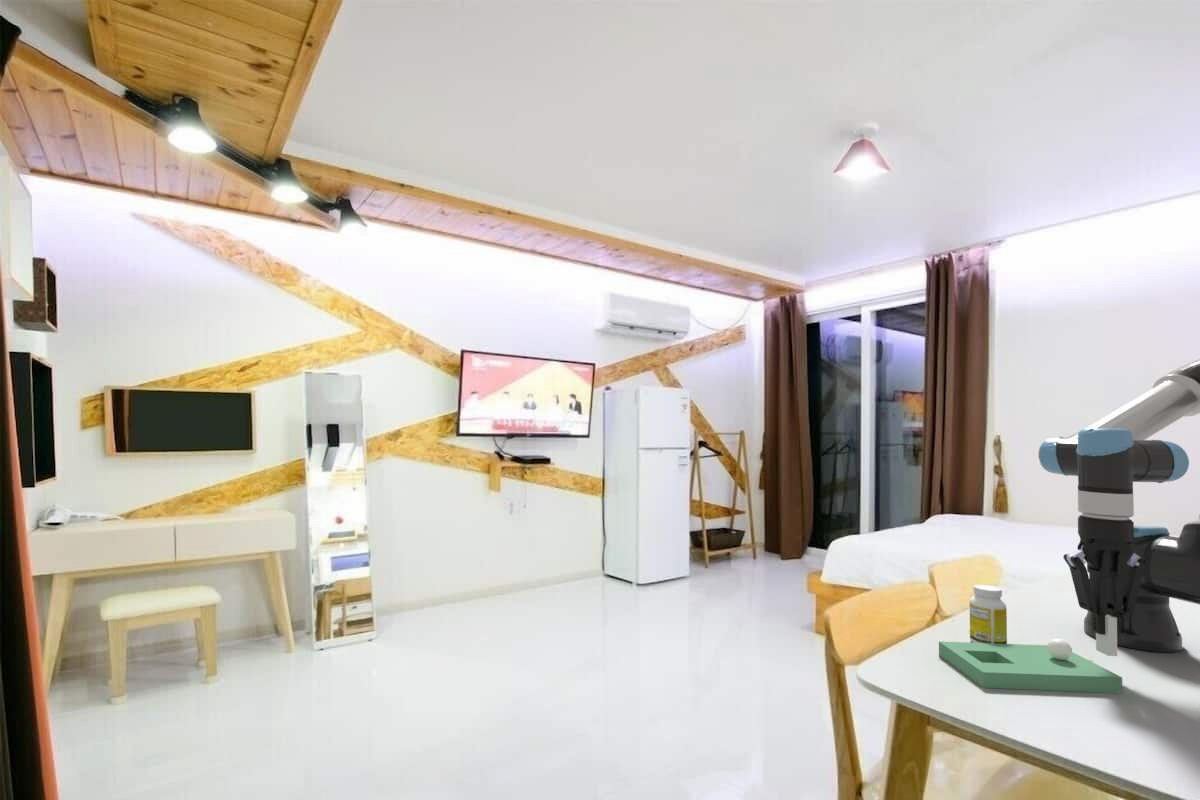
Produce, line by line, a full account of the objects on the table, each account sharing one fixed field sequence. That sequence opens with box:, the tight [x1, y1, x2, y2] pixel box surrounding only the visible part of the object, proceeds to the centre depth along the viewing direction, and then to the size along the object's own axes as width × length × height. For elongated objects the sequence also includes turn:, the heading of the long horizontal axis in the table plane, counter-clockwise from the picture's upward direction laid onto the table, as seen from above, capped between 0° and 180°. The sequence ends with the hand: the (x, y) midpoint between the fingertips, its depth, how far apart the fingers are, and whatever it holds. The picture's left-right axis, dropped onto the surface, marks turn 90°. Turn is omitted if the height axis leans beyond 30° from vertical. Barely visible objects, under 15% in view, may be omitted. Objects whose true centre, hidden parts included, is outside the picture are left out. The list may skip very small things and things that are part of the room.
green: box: [938, 641, 1123, 694], centre depth 105 cm, size 22×14×2 cm, turn 87°
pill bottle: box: [969, 584, 1008, 644], centre depth 119 cm, size 6×6×11 cm
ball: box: [1047, 638, 1073, 660], centre depth 105 cm, size 4×4×4 cm
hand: (1106, 652), depth 105 cm, fingers closed
